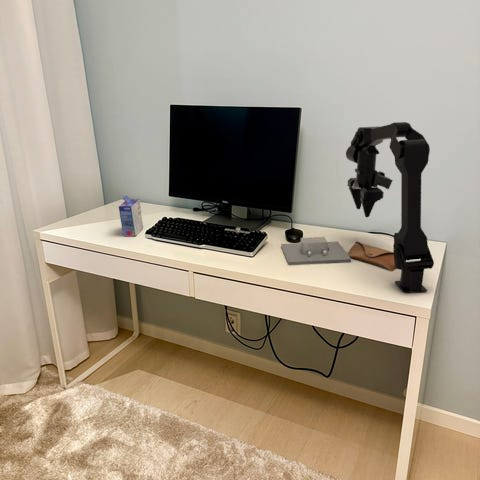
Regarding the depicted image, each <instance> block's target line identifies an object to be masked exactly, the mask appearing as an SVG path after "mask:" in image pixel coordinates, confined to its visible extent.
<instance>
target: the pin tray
mask: <svg viewBox="0 0 480 480" xmlns="http://www.w3.org/2000/svg"><path fill="white" fill-rule="evenodd" d="M280 247H281V250H282V252H283V253H282V254H284V258H285V260H286V262H287V265H288V266H292V265H293V266H294V265H295V266H297V265H317V264H319V265H320V264H340V263H352V259H351V258H350V257H349V255H348V254H347V253H348V252H347V251H346V250H345V249H344V248H343V246H342V245H341V243H340V242H339V241H328V247H329V251H328V254H327V251H326V250H324V251H323V254H311V251H308V254H307V255H303V253H302V251H301V249H300V248H301V242H296V243H281V245H280Z"/></svg>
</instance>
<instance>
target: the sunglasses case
mask: <svg viewBox="0 0 480 480" xmlns="http://www.w3.org/2000/svg"><path fill="white" fill-rule="evenodd" d="M346 253H347V254H348V255H349V257H350V258H351V260H354V261H358V262H361V263H364V264H367V265H371V266H375V267H378V268H381V269H384V270H386V271H390V272H395V270H397V269H396V266H395V263H394V251H390V250H387V249H383V248H380V247H376V246H373V245H368V244H365V243H361V242H360V241H355V243H354V244H353V245H352V247H351V248H350V249H349V251H348V252H346Z"/></svg>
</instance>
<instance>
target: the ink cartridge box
mask: <svg viewBox="0 0 480 480" xmlns="http://www.w3.org/2000/svg"><path fill="white" fill-rule="evenodd" d="M122 199H123V200H124V201H123V203H120V204H119V206H118V210H119V217H120V219H119V220H120V225H121V231H122V236H123V237H136V236H138V234H139V233H140V232H141V231H142V230H143V229H144V224H143V223H144V222H143V215H142V207H141V202H140V201H141V200H140V199H139V198H136V199H135V198H133V199H132V198H129V197H128V195H127V194H126V195H125V196H123V198H122Z"/></svg>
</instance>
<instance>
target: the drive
mask: <svg viewBox="0 0 480 480" xmlns="http://www.w3.org/2000/svg"><path fill="white" fill-rule="evenodd" d="M328 242H329V241H328V240H327V239H326V237H325V236H318V237H317V236H316V237H315V236H314V237H313V236H311V237H300V243H301V248H300V249H301V251H302V253H303V255H307V254H308V251H311V254H323V251H324V250H326V251H327V254H328V251H329V247H328Z"/></svg>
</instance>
